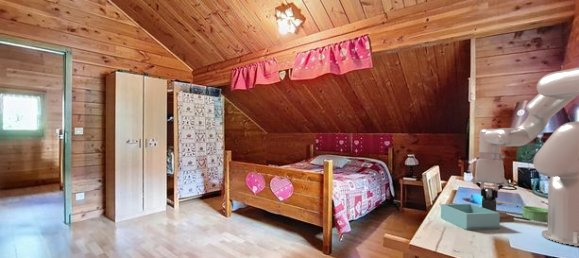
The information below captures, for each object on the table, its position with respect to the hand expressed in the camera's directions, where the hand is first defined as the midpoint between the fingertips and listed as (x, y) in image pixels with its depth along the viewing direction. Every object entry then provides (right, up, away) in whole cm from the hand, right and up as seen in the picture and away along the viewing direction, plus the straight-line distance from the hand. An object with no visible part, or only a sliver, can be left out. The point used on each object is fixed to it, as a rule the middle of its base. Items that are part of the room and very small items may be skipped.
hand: (489, 198), depth 119 cm
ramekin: (+19, -9, -1) cm, 21 cm away
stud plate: (0, -8, 0) cm, 8 cm away
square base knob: (0, -5, 0) cm, 5 cm away
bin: (-15, -8, -9) cm, 19 cm away
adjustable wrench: (+26, -9, +18) cm, 33 cm away
